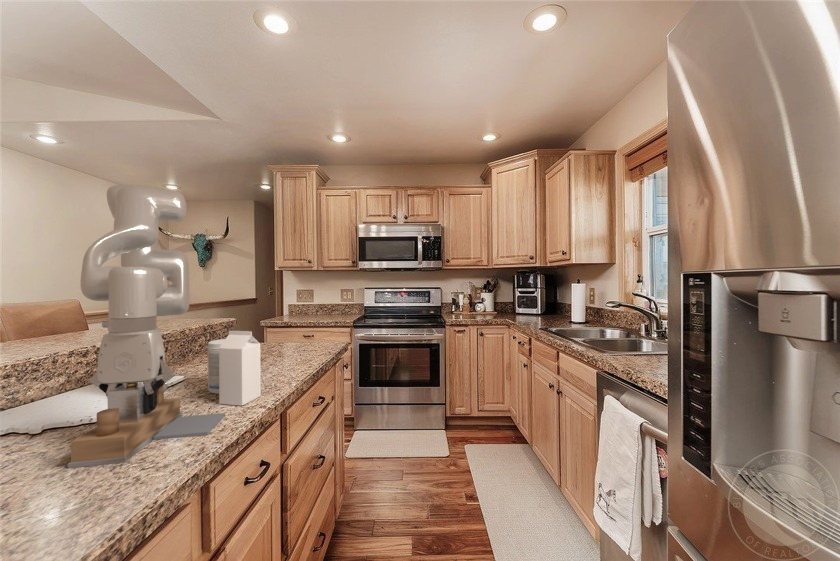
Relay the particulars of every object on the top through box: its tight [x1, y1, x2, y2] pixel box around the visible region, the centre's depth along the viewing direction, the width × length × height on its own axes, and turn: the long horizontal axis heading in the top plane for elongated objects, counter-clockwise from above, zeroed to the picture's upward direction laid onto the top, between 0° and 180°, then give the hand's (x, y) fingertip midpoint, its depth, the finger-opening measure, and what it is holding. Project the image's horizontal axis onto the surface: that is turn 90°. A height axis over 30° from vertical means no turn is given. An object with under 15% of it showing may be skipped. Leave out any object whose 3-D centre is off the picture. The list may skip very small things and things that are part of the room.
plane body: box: [67, 385, 183, 469], centre depth 68 cm, size 21×9×10 cm, turn 13°
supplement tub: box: [207, 338, 226, 395], centre depth 98 cm, size 10×10×15 cm
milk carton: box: [218, 330, 262, 406], centre depth 88 cm, size 7×7×19 cm
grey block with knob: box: [107, 382, 157, 424], centre depth 68 cm, size 7×5×7 cm
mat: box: [152, 412, 226, 441], centre depth 73 cm, size 10×10×1 cm
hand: (134, 411), depth 68 cm, fingers closed on grey block with knob, 5 cm apart
